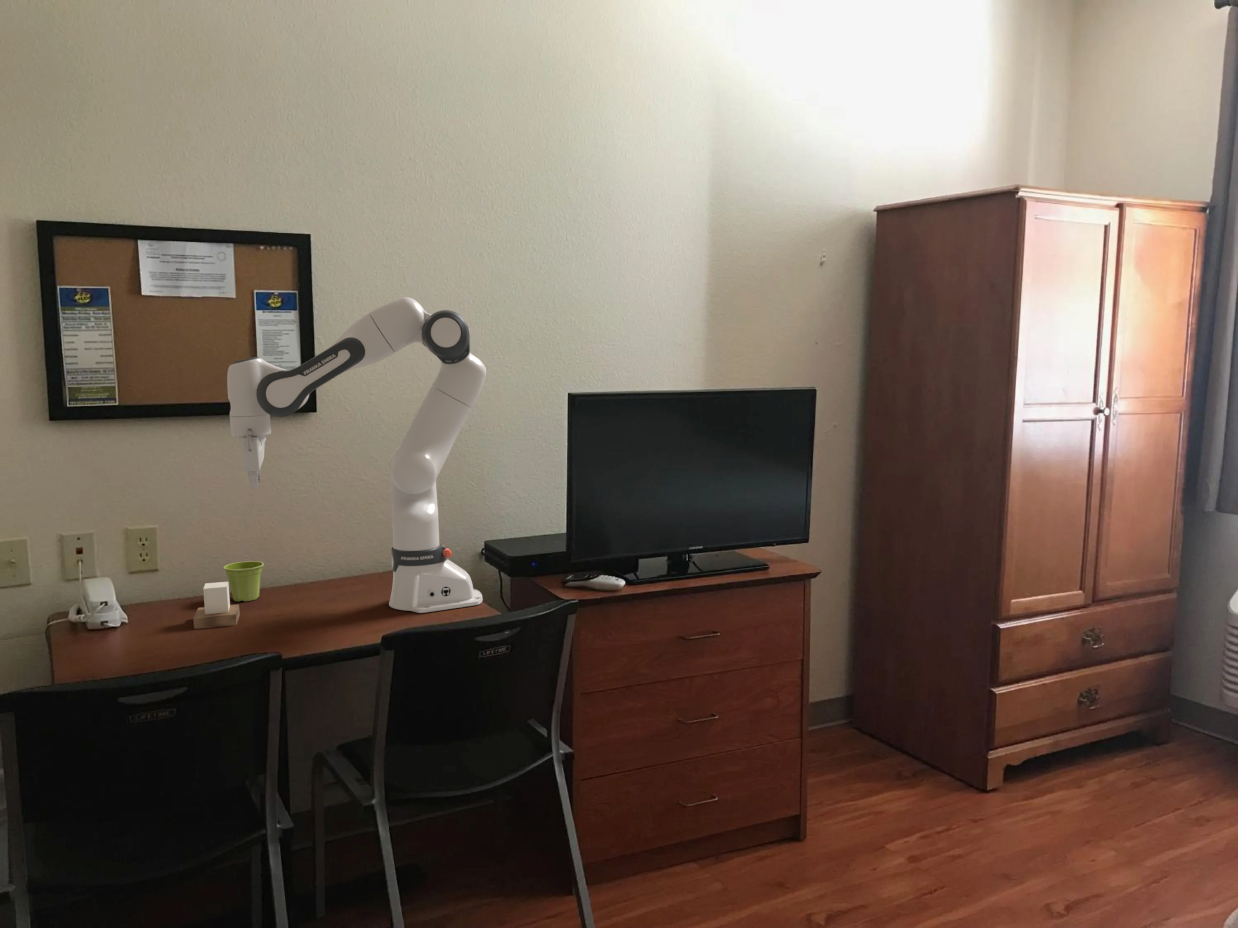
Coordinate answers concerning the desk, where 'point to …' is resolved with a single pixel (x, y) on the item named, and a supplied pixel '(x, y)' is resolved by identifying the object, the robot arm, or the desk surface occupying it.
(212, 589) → the white block
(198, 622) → the walnut slab
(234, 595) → the plant pot
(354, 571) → the desk surface
